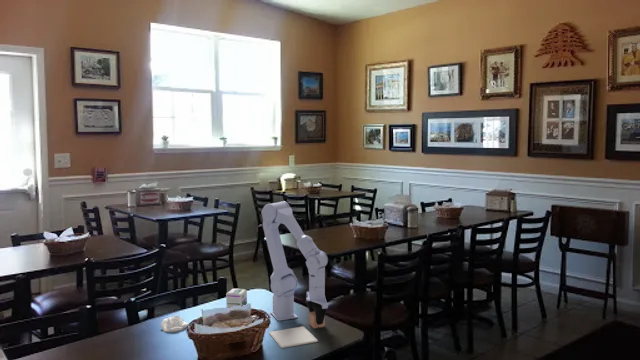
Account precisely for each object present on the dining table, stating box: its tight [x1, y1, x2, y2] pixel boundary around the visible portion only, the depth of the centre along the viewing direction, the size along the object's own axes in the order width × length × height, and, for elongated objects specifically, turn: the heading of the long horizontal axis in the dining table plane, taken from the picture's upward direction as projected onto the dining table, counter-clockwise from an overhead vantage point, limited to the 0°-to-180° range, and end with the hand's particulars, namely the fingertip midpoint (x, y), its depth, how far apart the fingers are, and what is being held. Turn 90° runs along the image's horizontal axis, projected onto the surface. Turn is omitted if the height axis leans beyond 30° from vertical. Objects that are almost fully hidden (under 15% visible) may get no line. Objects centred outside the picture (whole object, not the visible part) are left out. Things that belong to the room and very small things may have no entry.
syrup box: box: [225, 288, 248, 309], centre depth 181 cm, size 6×6×14 cm
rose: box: [160, 315, 189, 333], centre depth 184 cm, size 10×4×10 cm
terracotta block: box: [308, 311, 326, 329], centre depth 187 cm, size 4×4×4 cm
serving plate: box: [268, 325, 319, 349], centre depth 176 cm, size 13×13×1 cm
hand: (316, 321), depth 187 cm, fingers closed on terracotta block, 4 cm apart
